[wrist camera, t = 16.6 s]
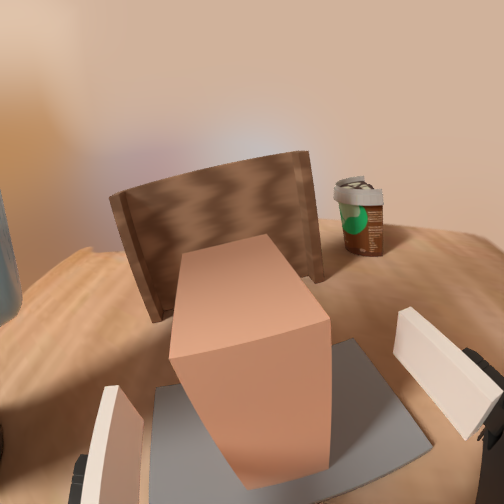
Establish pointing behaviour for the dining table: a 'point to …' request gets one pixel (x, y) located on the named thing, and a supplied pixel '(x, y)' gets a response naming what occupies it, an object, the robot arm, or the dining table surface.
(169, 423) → the slate mat
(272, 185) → the brown wooden board
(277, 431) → the carton
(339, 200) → the food container
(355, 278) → the dining table surface
